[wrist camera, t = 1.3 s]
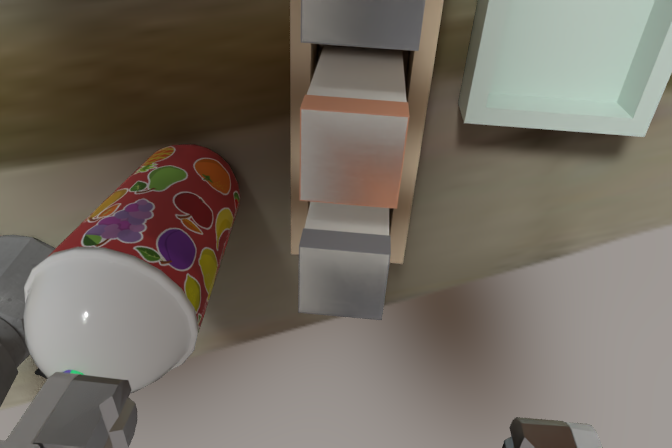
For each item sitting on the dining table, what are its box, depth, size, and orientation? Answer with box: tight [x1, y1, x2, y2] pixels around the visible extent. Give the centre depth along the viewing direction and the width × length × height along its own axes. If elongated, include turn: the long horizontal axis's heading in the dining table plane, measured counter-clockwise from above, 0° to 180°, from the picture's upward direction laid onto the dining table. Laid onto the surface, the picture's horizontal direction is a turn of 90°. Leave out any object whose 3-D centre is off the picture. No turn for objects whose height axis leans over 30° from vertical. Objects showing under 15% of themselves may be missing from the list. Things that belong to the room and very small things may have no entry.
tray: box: [458, 0, 672, 137], centre depth 27 cm, size 12×10×3 cm
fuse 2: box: [298, 202, 391, 320], centre depth 29 cm, size 4×4×11 cm
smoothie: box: [23, 145, 240, 393], centre depth 28 cm, size 8×8×20 cm
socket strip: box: [290, 0, 444, 264], centre depth 28 cm, size 21×7×6 cm, turn 177°
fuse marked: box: [299, 44, 410, 209], centre depth 25 cm, size 4×4×11 cm
